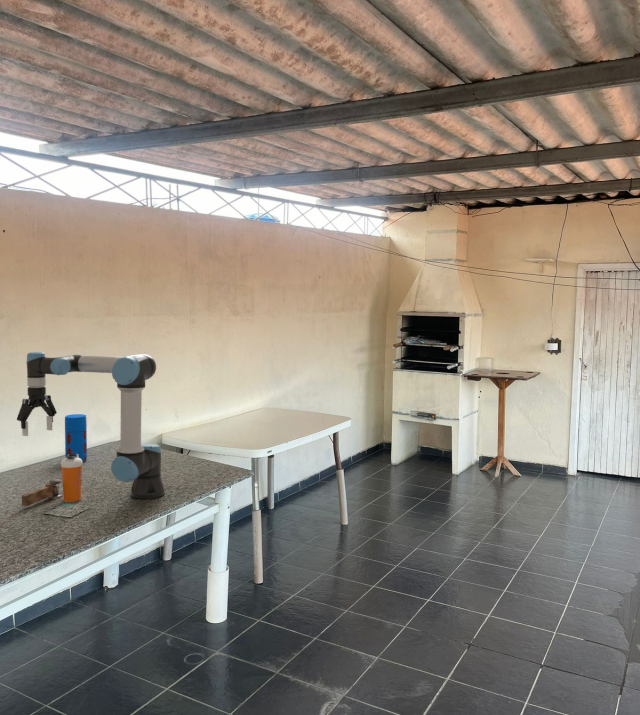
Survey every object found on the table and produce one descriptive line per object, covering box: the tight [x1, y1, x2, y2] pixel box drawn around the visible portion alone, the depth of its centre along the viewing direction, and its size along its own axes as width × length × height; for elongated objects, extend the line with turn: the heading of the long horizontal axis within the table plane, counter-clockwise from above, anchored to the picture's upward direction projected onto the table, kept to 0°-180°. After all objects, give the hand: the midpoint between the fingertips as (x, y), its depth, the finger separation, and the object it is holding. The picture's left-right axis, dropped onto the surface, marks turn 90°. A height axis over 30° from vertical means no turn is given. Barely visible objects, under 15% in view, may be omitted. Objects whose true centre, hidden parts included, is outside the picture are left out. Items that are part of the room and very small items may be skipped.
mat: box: [55, 502, 86, 508], centre depth 266 cm, size 13×13×1 cm
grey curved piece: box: [47, 484, 63, 500], centre depth 284 cm, size 6×6×5 cm
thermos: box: [64, 413, 88, 464], centre depth 343 cm, size 11×11×25 cm
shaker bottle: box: [60, 454, 84, 503], centre depth 279 cm, size 9×9×20 cm
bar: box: [21, 478, 62, 507], centre depth 276 cm, size 21×5×6 cm, turn 162°
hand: (37, 432), depth 289 cm, fingers open, 13 cm apart
